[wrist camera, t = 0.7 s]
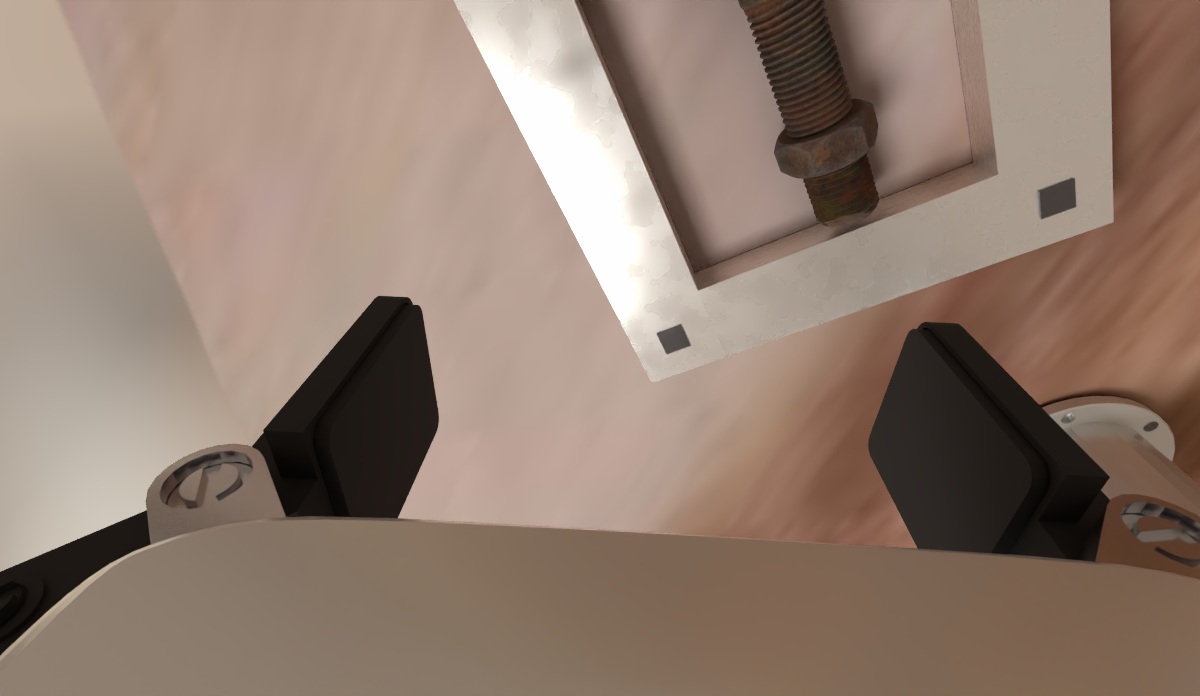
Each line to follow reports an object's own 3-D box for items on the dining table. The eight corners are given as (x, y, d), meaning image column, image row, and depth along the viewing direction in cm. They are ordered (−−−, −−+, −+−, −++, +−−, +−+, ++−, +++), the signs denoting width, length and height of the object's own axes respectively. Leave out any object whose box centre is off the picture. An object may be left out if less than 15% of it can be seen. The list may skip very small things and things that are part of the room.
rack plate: (1081, 207, 31) (1114, 222, 29) (650, 361, 39) (651, 383, 36) (1051, -461, 20) (1103, -518, 17) (437, -60, 27) (419, -65, 24)
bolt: (816, 198, 34) (723, -75, 27) (908, 176, 31) (830, -141, 24) (789, 253, 31) (675, -42, 24) (890, 235, 27) (792, -114, 20)
